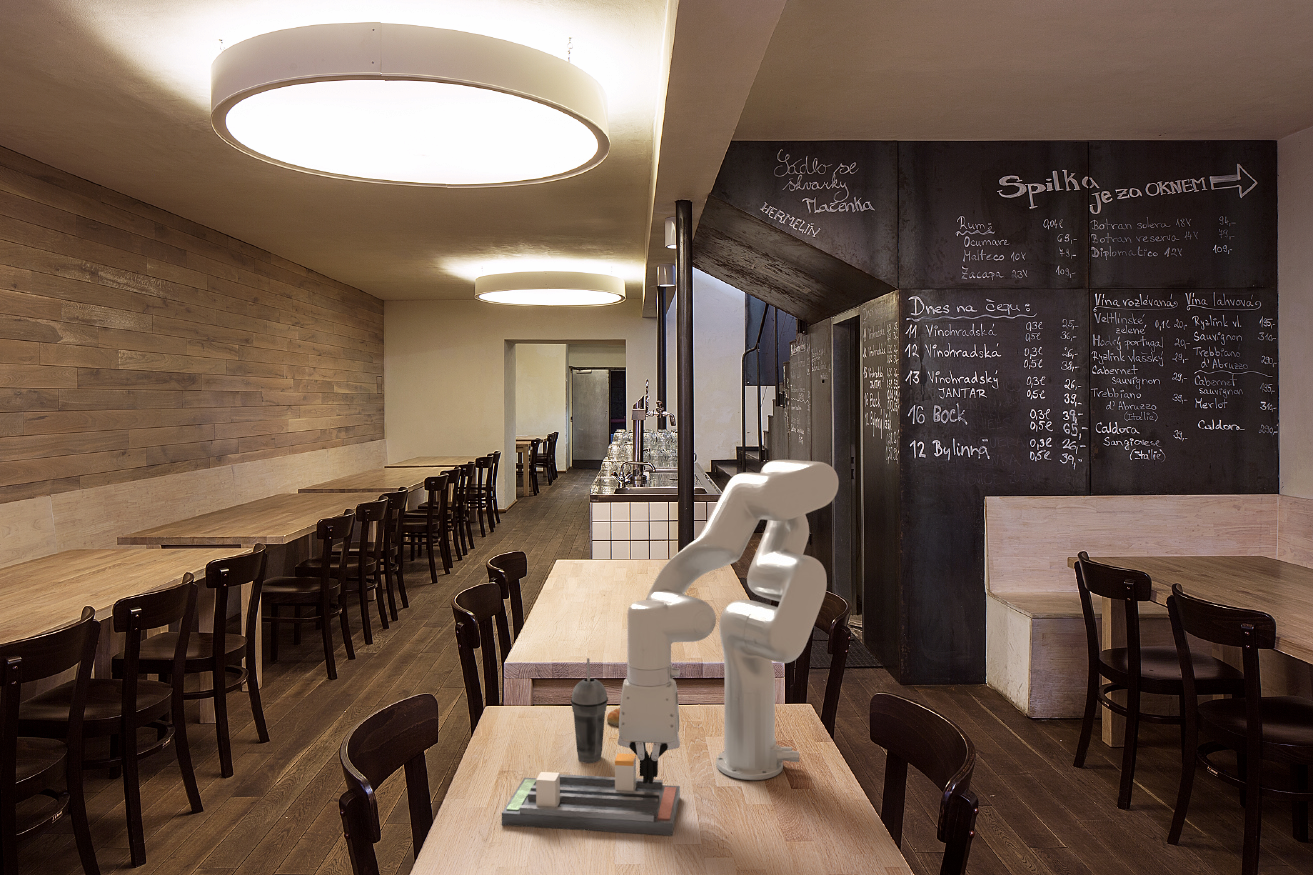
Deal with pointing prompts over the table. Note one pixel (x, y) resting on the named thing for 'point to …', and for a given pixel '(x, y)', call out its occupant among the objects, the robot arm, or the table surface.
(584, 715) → the beverage cup
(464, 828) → the table surface
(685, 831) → the table surface
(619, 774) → the block
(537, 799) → the block
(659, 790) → the gray rail tray
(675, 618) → the robot arm
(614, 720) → the pastry
